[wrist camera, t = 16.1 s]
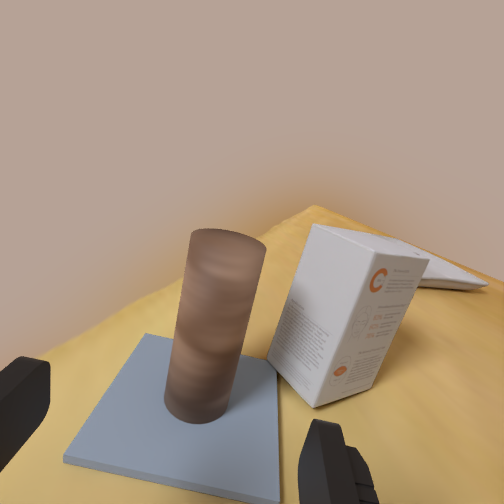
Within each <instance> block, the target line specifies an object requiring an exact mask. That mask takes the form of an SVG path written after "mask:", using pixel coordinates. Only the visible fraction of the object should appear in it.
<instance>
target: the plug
mask: <svg viewBox="0 0 504 504" xmlns="http://www.w3.org/2000/svg"><path fill="white" fill-rule="evenodd" d="M265 253H266V247H265V245H264V244H263V243H261V242H260V241H258V240H256V239H254V238H252V237H249V236H247V235H244V234H241V233H237V232H233V231H228V230H222V229H198V230H195V231H193V232H192V233H191V238H190V244H189V250H188V256H187V262H186V268H185V274H184V279H183V285H182V291H181V297H180V303H179V309H178V315H177V321H176V327H175V333H174V339H173V345H172V351H171V357H170V363H169V369H168V375H167V381H166V387H165V393H164V403H165V406H166V408H167V410H168V411H169V412H170V413H171V414H172V415H173V416H174V417H175V418H177V419H179V420H181V421H183V422H186V423H190V424H206V423H210V422H213V421H215V420H217V419H218V418H220V417H221V416H222V415H223V414H224V412H225V411H226V409H227V406H228V402H229V398H230V394H231V390H232V386H233V382H234V378H235V374H236V370H237V366H238V362H239V358H240V354H241V350H242V346H243V342H244V338H245V334H246V330H247V326H248V322H249V318H250V314H251V310H252V306H253V302H254V298H255V294H256V290H257V286H258V282H259V278H260V274H261V270H262V266H263V262H264V257H265Z"/></svg>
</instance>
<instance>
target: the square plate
mask: <svg viewBox="0 0 504 504" xmlns="http://www.w3.org/2000/svg"><path fill="white" fill-rule="evenodd" d="M372 235H375V234H372ZM375 236H377V237H380V238H383V239H385V240H388V241H390V242H393V243H395V244H398V245H400V246H403V247H405V248H408V249H410V250H412V251H414V252H417V253H419V254H421V255H423V256H425V257H427V258H429V259H430V261H429V263H428V265H427V267H426V269H425V272H424V274H423V276H422V278H421V280H420V282H419V285H418V286H420V287H433V288H446V289H461V290H473V289H478V288H482V287H485V286H488V285H489V283H487V282H485V281H483V280H481V279H479V278H478V277H476V276H474V275H472V274H470V273H468V272H466V271H464V270H462V269H460V268H458V267H457V266H455V265H453V264H451V263H449V262H447V261H445V260H443V259H441V258H439V257H437V256H434V255H432V254H430V253H428V252H426V251H424V250H421V249H419V248H417V247H414V246H412V245H410V244H407V243H405V242H403V241H401V240H399V239H396V238H391V237H385V236H380V235H375Z"/></svg>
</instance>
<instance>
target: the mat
mask: <svg viewBox="0 0 504 504" xmlns="http://www.w3.org/2000/svg"><path fill="white" fill-rule="evenodd" d="M172 345H173V339H169V338H165V337H161V336H156V335H152V334H147V333H145V335H144V336H143V338H142V339H141V341H140V342H139V344H138V345H137V347H136V348H135V350H134V351H133V353H132V354H131V355H130V357H129V358H128V360H127V361H126V363H125V364H124V366H123V367H122V369H121V370H120V372H119V373H118V375H117V376H116V378H115V379H114V381H113V382H112V384H111V385H110V386H109V388H108V389H107V391H106V392H105V394H104V395H103V397H102V398H101V400H100V401H99V403H98V404H97V406H96V407H95V409H94V410H93V412H92V413H91V415H90V416H89V417H88V419H87V420H86V422H85V423H84V425H83V426H82V428H81V429H80V431H79V432H78V434H77V435H76V437H75V438H74V440H73V441H72V443H71V444H70V446H69V447H68V448H67V450H66V451H65V453H64V454H63V463H68V464H72V465H77V466H81V467H86V468H91V469H95V470H100V471H104V472H109V473H113V474H118V475H123V476H127V477H132V478H136V479H141V480H146V481H150V482H155V483H159V484H164V485H168V486H173V487H178V488H182V489H187V490H191V491H196V492H201V493H205V494H210V495H214V496H219V497H224V498H228V499H233V500H237V501H242V502H246V503H251V504H279V503H280V487H279V446H278V406H277V370H276V369H275V368H274V367H273V366H272V365H271V364H270V363H269V362H268V361H267V360H263V359H258V358H254V357H250V356H245V355H241V354H240V358H239V362H238V366H237V370H236V374H235V378H234V382H233V386H232V390H231V394H230V398H229V402H228V406H227V409H226V411H225V412H224V414H223V415H222V416H221V417H220V418H218V419H217V420H215V421H213V422H210V423H206V424H190V423H186V422H183V421H181V420H179V419H177V418H175V417H174V416H173V415H172V414H171V413H170V412H169V411H168V410H167V408H166V406H165V403H164V393H165V387H166V381H167V375H168V369H169V363H170V357H171V351H172Z"/></svg>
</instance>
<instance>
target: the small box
mask: <svg viewBox="0 0 504 504" xmlns="http://www.w3.org/2000/svg"><path fill="white" fill-rule="evenodd" d="M429 261H430V259H429V258H427V257H425V256H423V255H421V254H419V253H417V252H414V251H412V250H410V249H408V248H405V247H403V246H400V245H398V244H395V243H393V242H390V241H388V240H385V239H383V238H380V237H377V236H375V235H372V234H369V233H364V232H358V231H353V230H347V229H341V228H336V227H330V226H324V225H319V224H312V227H311V230H310V233H309V236H308V239H307V242H306V245H305V248H304V250H303V253H302V256H301V259H300V262H299V265H298V268H297V271H296V274H295V277H294V279H293V282H292V285H291V288H290V291H289V294H288V297H287V300H286V303H285V305H284V308H283V311H282V314H281V317H280V320H279V323H278V326H277V329H276V332H275V335H274V337H273V340H272V343H271V346H270V349H269V352H268V355H267V361H268V362H269V363H270V364H271V365H272V366H273V367H274V368H275V369H276V370H277V371H278V372H279V373H280V374H281V375H282V376H283V378H284V379H285V380H286V381H287V382H288V383H289V384H290V385H291V386H292V387H293V389H294V390H295V391H296V392H297V393H298V394H299V395H300V396H301V397H302V398H303V399H304V400H305V401H306V402H307V403H308V404H309V405H310V406H311V407H312V408H315V407H318V406H321V405H324V404H327V403H330V402H333V401H336V400H339V399H342V398H345V397H347V396H350V395H353V394H356V393H359V392H362V391H365V390H368V389H370V388H371V387H372V384H373V382H374V380H375V378H376V375H377V373H378V371H379V369H380V367H381V364H382V362H383V360H384V358H385V355H386V353H387V351H388V349H389V347H390V344H391V342H392V340H393V338H394V336H395V334H396V332H397V329H398V327H399V325H400V323H401V321H402V319H403V317H404V315H405V313H406V310H407V308H408V306H409V304H410V302H411V300H412V298H413V295H414V293H415V291H416V289H417V287H418V285H419V282H420V280H421V278H422V276H423V274H424V272H425V269H426V267H427V265H428V263H429Z"/></svg>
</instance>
